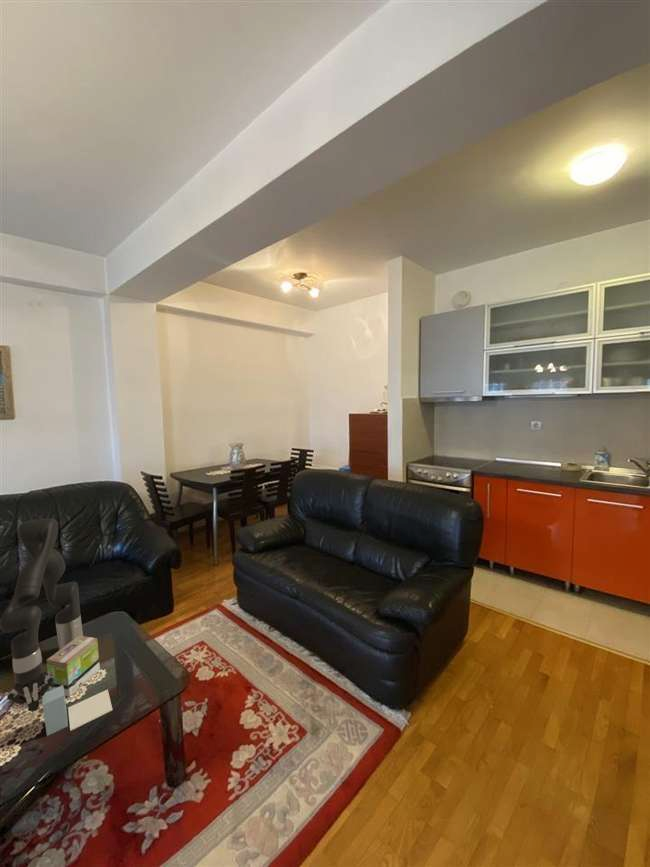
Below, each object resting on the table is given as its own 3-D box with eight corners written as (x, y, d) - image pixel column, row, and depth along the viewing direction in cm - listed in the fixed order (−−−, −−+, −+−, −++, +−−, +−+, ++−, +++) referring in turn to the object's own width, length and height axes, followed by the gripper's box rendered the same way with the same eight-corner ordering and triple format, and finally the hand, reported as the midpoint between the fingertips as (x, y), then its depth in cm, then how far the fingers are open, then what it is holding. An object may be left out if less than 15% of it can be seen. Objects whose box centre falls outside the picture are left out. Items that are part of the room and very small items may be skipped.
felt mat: (68, 708, 137) (68, 707, 137) (107, 690, 145) (107, 689, 145) (70, 731, 128) (70, 730, 128) (112, 710, 136) (112, 709, 136)
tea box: (70, 697, 142) (66, 663, 140) (49, 694, 144) (44, 660, 142) (101, 668, 157) (97, 637, 155) (81, 666, 159) (77, 634, 157)
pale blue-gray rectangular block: (46, 724, 131) (42, 693, 129) (67, 714, 134) (63, 685, 133) (46, 736, 126) (42, 704, 125) (68, 726, 130) (64, 695, 128)
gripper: (51, 648, 131) (57, 692, 133) (3, 666, 123) (10, 712, 125) (52, 660, 125) (58, 706, 127) (1, 680, 117) (8, 728, 119)
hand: (34, 709), depth 126 cm, fingers closed
